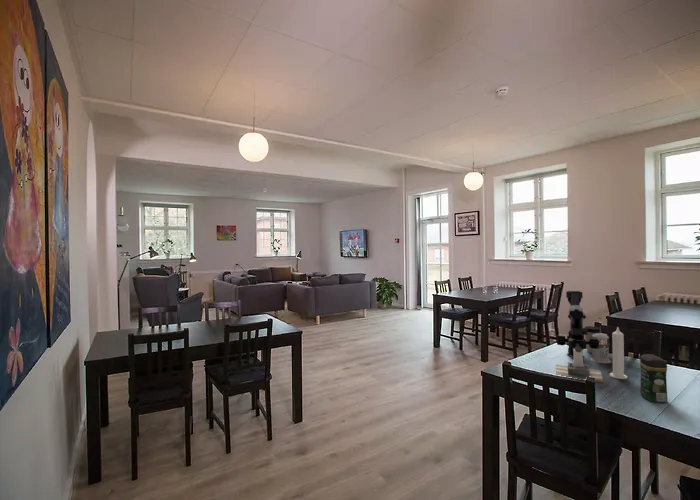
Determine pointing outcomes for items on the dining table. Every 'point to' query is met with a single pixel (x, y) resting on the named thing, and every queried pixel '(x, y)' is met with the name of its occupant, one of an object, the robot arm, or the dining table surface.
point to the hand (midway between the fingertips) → (578, 356)
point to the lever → (578, 356)
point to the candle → (618, 355)
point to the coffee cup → (590, 332)
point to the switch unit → (578, 372)
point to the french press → (601, 349)
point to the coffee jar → (653, 378)
